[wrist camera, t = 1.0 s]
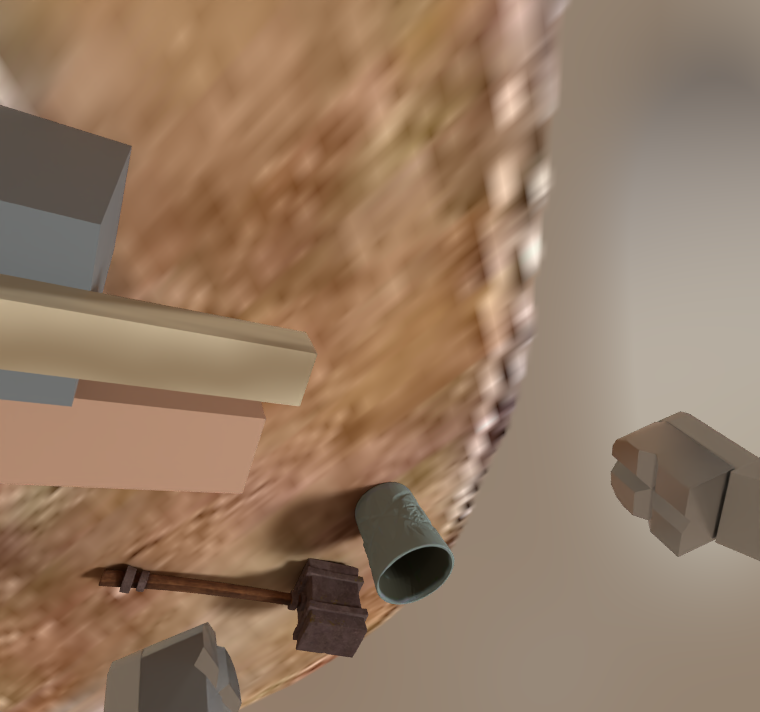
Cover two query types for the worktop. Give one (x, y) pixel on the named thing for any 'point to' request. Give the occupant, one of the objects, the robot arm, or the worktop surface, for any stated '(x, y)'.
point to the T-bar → (148, 344)
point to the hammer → (283, 601)
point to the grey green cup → (401, 544)
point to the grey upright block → (56, 220)
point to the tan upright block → (131, 440)
